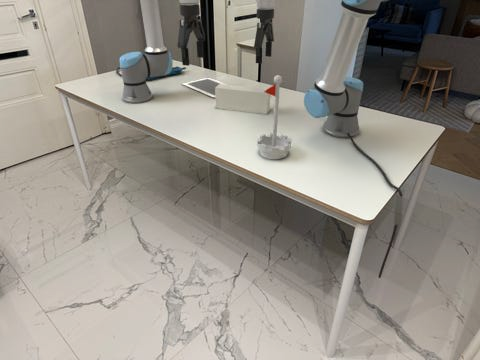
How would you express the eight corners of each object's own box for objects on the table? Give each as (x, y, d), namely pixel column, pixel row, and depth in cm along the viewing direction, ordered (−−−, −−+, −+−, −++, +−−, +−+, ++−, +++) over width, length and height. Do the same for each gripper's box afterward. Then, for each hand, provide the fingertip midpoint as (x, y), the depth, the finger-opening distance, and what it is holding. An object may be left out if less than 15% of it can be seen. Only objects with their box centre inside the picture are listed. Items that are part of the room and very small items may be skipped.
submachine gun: (171, 61, 240) (190, 66, 223) (172, 66, 242) (191, 72, 225) (125, 70, 221) (142, 76, 205) (126, 76, 223) (144, 82, 207)
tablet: (181, 84, 205) (181, 83, 205) (208, 77, 216) (208, 77, 216) (213, 98, 185) (213, 97, 185) (241, 90, 196) (241, 89, 196)
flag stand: (280, 142, 140) (286, 68, 124) (296, 156, 130) (304, 78, 113) (251, 147, 136) (253, 72, 120) (265, 163, 126) (269, 82, 109)
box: (270, 109, 171) (271, 88, 165) (266, 114, 166) (267, 93, 160) (220, 103, 178) (219, 83, 172) (215, 108, 173) (214, 87, 167)
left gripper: (194, 0, 140) (198, 53, 152) (163, 7, 120) (170, 67, 132) (211, 1, 138) (213, 55, 150) (182, 8, 118) (187, 69, 130)
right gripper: (266, 4, 155) (264, 53, 167) (246, 11, 136) (246, 65, 147) (282, 5, 153) (279, 54, 164) (264, 12, 133) (262, 67, 145)
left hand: (193, 61), depth 141 cm, fingers open, 13 cm apart
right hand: (263, 59), depth 156 cm, fingers open, 13 cm apart
